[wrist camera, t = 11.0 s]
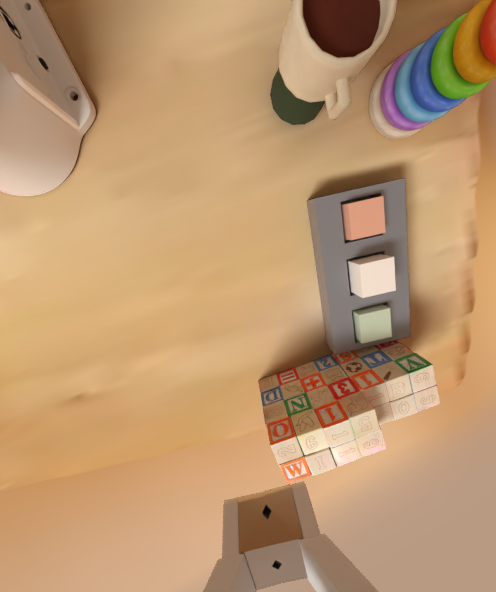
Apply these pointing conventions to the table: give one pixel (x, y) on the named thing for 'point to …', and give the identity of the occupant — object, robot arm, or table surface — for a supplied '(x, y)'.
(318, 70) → the character mug
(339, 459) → the stack of blocks
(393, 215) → the button panel
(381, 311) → the sage button
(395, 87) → the stacking toy
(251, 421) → the table surface
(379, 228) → the terracotta button
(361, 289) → the cream button
